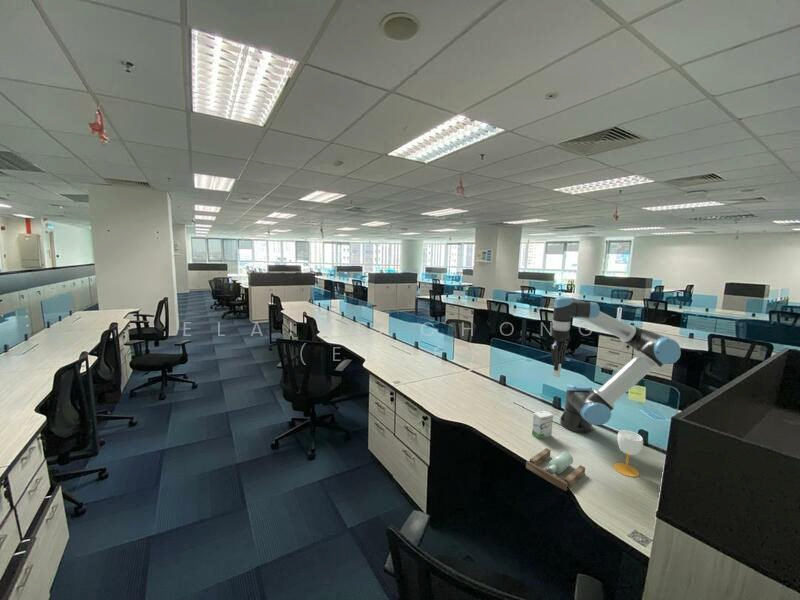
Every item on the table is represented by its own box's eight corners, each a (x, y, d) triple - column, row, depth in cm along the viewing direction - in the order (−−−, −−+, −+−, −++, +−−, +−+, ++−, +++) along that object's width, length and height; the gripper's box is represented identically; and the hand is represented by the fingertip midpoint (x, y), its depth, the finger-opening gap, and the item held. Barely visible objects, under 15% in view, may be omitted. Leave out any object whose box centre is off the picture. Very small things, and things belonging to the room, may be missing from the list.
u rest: (545, 454, 149) (546, 448, 148) (584, 474, 135) (585, 467, 135) (525, 468, 139) (526, 461, 138) (565, 491, 125) (566, 484, 125)
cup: (640, 469, 139) (645, 435, 136) (637, 480, 132) (642, 444, 130) (615, 460, 145) (619, 427, 142) (611, 470, 138) (616, 435, 136)
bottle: (562, 448, 143) (543, 462, 133) (574, 456, 139) (556, 471, 129) (558, 459, 144) (540, 473, 135) (571, 467, 140) (553, 482, 131)
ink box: (538, 439, 160) (540, 417, 159) (531, 434, 165) (533, 412, 163) (551, 436, 163) (553, 414, 162) (544, 431, 168) (546, 410, 166)
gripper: (559, 326, 161) (555, 371, 164) (546, 329, 153) (542, 376, 157) (575, 329, 155) (570, 375, 159) (562, 332, 147) (557, 381, 151)
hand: (556, 376), depth 158 cm, fingers closed
